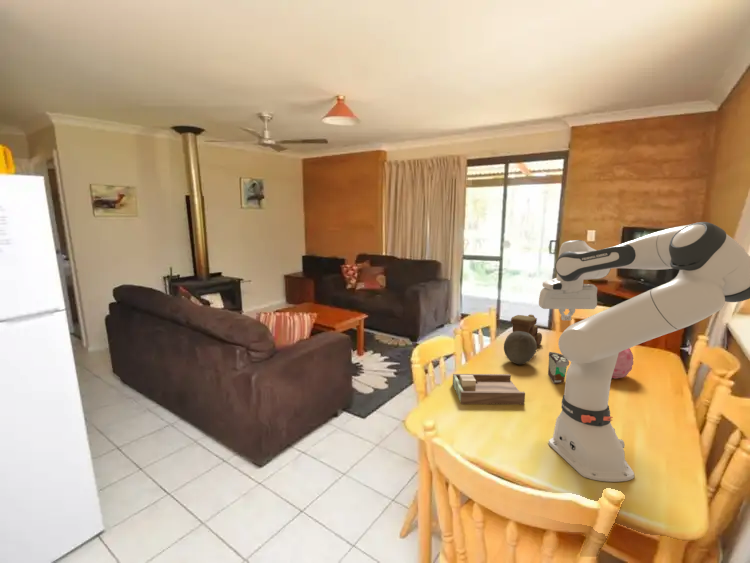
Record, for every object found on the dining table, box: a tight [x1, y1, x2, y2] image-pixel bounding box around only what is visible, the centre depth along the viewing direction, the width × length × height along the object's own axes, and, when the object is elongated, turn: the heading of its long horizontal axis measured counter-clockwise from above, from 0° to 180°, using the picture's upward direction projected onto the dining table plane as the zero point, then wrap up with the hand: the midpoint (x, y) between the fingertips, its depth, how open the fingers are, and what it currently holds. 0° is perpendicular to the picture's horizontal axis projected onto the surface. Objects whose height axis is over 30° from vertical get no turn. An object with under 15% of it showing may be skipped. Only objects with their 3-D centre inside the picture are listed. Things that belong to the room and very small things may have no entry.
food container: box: [547, 351, 570, 385], centre depth 151 cm, size 12×6×10 cm, turn 168°
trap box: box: [452, 373, 526, 405], centre depth 140 cm, size 16×23×4 cm
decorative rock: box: [611, 348, 634, 379], centre depth 156 cm, size 19×14×15 cm
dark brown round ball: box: [503, 331, 538, 365], centre depth 169 cm, size 14×14×15 cm
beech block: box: [460, 375, 476, 390], centre depth 140 cm, size 5×5×4 cm
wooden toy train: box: [510, 314, 543, 346], centre depth 191 cm, size 20×11×17 cm, turn 137°
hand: (565, 320), depth 137 cm, fingers closed
